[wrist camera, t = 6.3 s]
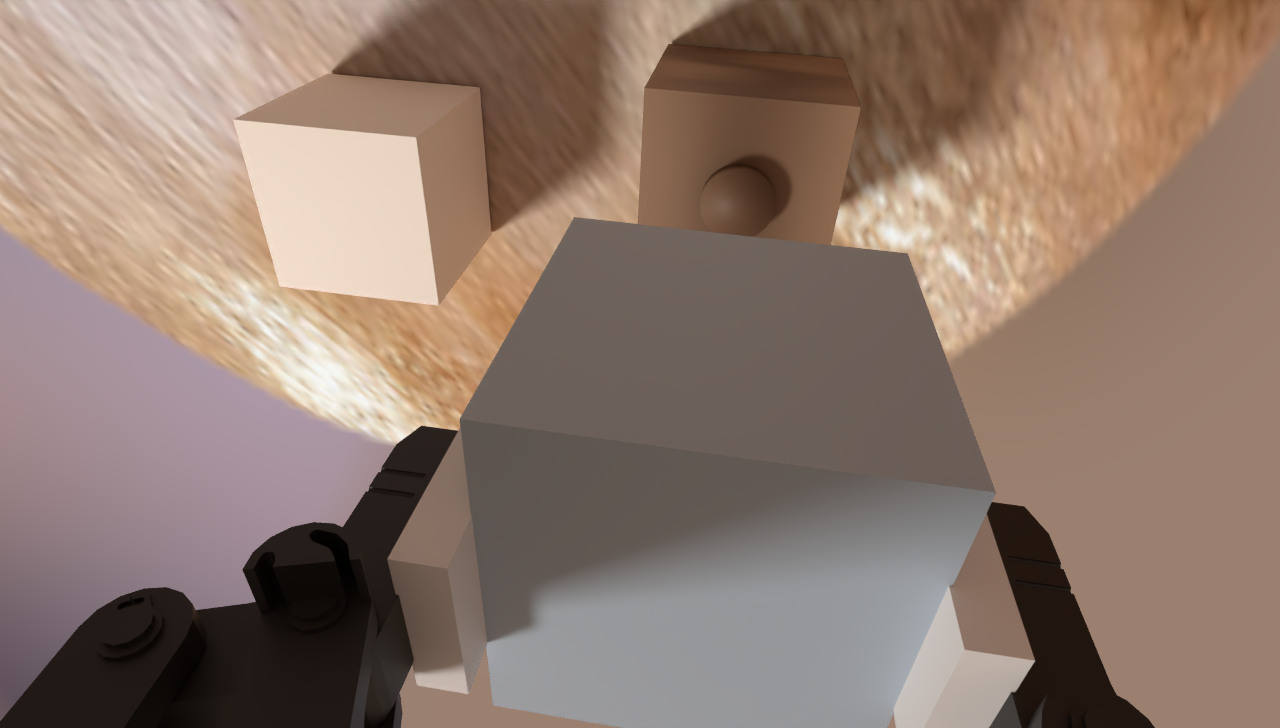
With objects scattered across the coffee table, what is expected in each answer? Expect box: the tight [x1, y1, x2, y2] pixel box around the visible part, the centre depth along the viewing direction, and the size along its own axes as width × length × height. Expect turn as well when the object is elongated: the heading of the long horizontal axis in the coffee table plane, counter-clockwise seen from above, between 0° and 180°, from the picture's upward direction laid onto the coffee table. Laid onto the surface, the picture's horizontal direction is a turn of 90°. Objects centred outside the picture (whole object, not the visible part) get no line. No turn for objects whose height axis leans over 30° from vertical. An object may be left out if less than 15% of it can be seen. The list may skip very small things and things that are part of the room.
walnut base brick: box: [638, 44, 861, 245], centre depth 24 cm, size 6×6×6 cm
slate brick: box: [460, 217, 996, 728], centre depth 12 cm, size 6×6×6 cm
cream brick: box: [233, 74, 491, 305], centre depth 26 cm, size 6×6×6 cm
